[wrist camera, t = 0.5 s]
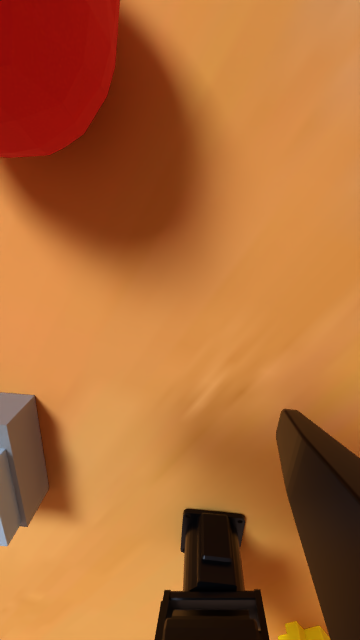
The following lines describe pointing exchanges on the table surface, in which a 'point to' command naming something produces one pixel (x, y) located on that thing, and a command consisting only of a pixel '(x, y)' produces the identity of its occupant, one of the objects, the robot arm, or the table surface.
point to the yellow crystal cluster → (303, 633)
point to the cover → (7, 503)
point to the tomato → (53, 71)
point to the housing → (23, 452)
